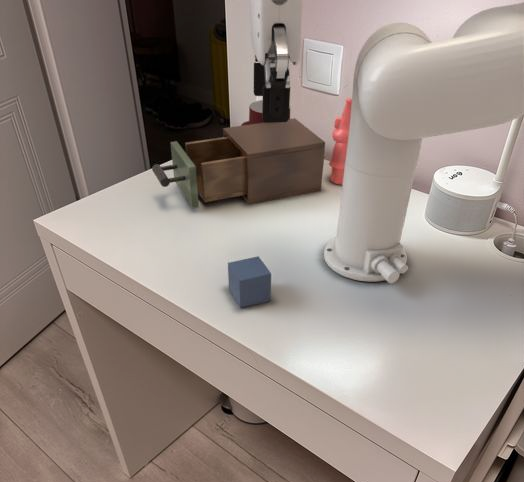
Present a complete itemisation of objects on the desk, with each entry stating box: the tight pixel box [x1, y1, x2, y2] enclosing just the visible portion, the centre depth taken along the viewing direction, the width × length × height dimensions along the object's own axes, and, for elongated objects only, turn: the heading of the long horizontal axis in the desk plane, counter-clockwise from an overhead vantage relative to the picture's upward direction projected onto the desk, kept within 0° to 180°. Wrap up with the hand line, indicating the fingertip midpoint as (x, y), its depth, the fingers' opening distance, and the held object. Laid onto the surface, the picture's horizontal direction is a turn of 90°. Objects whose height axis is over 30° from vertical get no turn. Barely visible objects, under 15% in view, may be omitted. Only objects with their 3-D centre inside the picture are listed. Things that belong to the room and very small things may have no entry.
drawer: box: [151, 136, 247, 209], centre depth 95 cm, size 18×11×7 cm, turn 113°
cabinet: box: [222, 117, 326, 205], centre depth 99 cm, size 15×13×9 cm
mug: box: [240, 99, 291, 126], centre depth 107 cm, size 11×8×10 cm
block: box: [227, 256, 272, 309], centre depth 74 cm, size 5×5×5 cm
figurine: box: [328, 97, 352, 186], centre depth 98 cm, size 5×5×15 cm
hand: (270, 107), depth 69 cm, fingers open, 9 cm apart
